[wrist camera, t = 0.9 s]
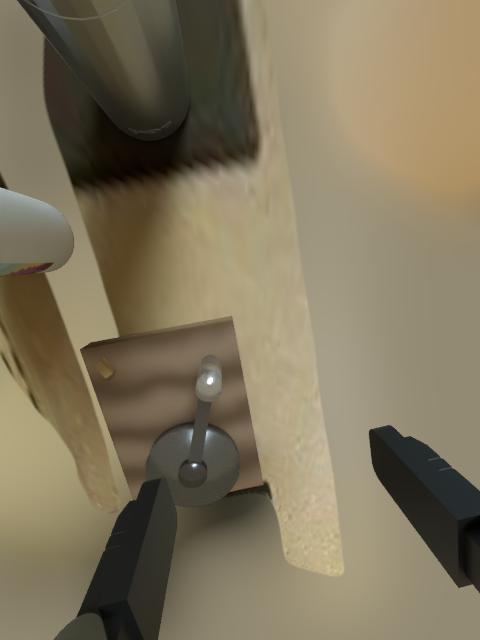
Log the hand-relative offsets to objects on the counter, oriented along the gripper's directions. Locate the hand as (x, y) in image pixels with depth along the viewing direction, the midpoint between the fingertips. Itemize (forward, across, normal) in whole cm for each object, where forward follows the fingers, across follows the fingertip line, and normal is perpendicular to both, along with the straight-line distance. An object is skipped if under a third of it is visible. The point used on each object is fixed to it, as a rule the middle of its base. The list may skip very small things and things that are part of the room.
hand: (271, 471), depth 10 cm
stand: (+24, +10, +10) cm, 28 cm away
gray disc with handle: (+21, +7, +12) cm, 25 cm away
